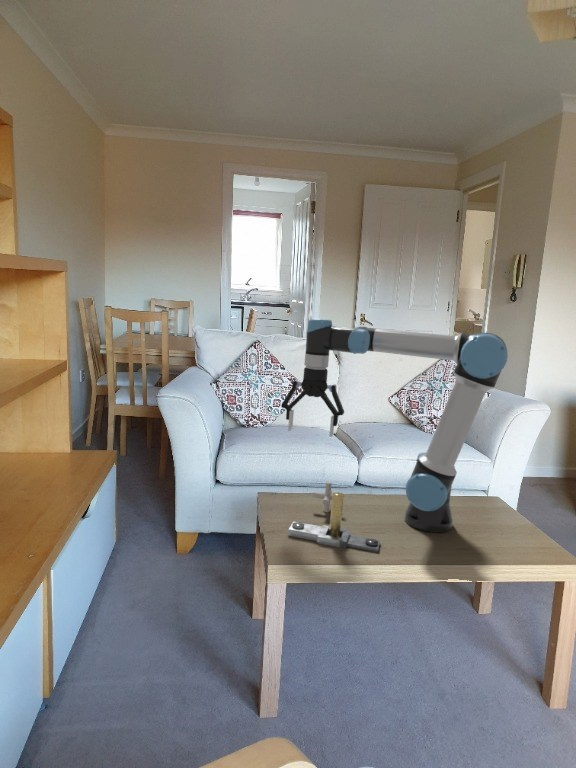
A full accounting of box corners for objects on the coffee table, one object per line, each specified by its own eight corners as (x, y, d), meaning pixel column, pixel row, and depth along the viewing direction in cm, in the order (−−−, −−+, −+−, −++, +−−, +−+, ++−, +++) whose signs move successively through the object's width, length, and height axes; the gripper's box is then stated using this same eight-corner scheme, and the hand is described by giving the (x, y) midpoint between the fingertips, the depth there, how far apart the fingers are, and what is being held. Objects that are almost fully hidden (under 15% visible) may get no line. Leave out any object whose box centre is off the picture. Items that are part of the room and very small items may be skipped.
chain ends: (380, 541, 156) (381, 533, 156) (377, 554, 148) (378, 545, 148) (293, 526, 163) (294, 518, 162) (286, 537, 155) (287, 528, 154)
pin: (340, 538, 157) (344, 493, 154) (338, 542, 154) (342, 497, 151) (329, 536, 158) (333, 491, 155) (327, 540, 154) (331, 495, 152)
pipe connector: (339, 519, 170) (342, 489, 169) (309, 514, 172) (311, 485, 171) (342, 507, 180) (345, 479, 178) (313, 503, 182) (316, 475, 180)
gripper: (356, 370, 168) (350, 435, 171) (281, 362, 174) (276, 425, 177) (353, 373, 161) (347, 440, 164) (275, 364, 167) (270, 430, 170)
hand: (310, 432), depth 171 cm, fingers open, 13 cm apart
